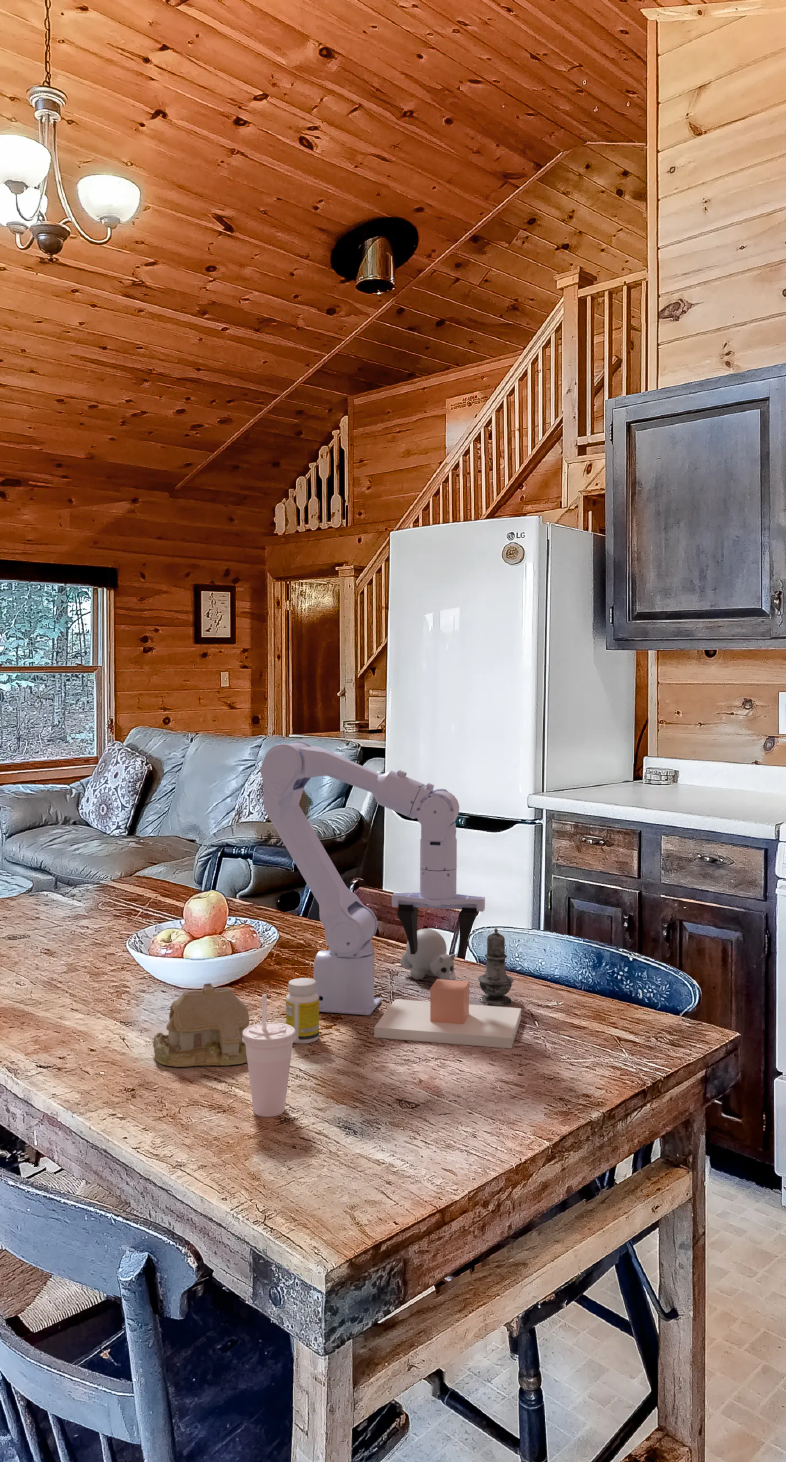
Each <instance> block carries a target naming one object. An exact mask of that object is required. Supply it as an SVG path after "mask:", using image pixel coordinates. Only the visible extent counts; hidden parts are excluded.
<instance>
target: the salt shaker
mask: <svg viewBox="0 0 786 1462" xmlns="http://www.w3.org/2000/svg"><path fill="white" fill-rule="evenodd" d="M493 931H494V932H493V933H490V934H489V935H488V936H487V938H486V940H487V942H486V950H487V951H486V954H484V958H486V969H485V973H484V974H481V975H480V976H478V977H477V981H478V982H479V987H480V990H481V991H483V993H484V995H482V996H481V997H480V998H482V1000H483V1001H482V1002H484V1003H488V1004H494V1005H493V1006H504V1005H503V1004H507V1005H510V1004H512V1002H511V1001H512V998H511V997H509V996H508V995H507V994H508V993H509V992H510V990H511V989H512V986H513V985H512V984H513V982H514V981H515V980H514V978H513V977H512V976H509V975H508V974H507V972H506V958H507V957H508V955H506V954H505V951H506V950H505V949H506V946H505V945H506V941H505V940H506V939H505V937H504V935H503V934H501V933H499V932H498V931H499V930H498V928H497V927H495V928H494V930H493ZM480 998H479V999H480ZM480 1000H481V999H480ZM482 1002H481V1003H482ZM484 1003H483V1004H484ZM488 1004H487V1005H488Z"/></svg>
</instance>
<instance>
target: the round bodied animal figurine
mask: <svg viewBox="0 0 786 1462" xmlns="http://www.w3.org/2000/svg"><path fill="white" fill-rule="evenodd" d="M417 941H418V948H417V952H416V953H415V954H410V947H409V942H408V940H407V942H406V945H405V952H403V955H402V956H401V958H400V962H399V964H400V966H401V967H402V968H404V969H407V970H409V969H410V972H409V974H410V977H412V979H414V980H417V979H421V980H424V977H425V976H426V975H427V976H428V977H431V976H435V977H437V978H438V979H442V980H456V972H455V961H454V960H455V958H456V953H452V954H447V950H448V949H447V948H448V947H447V944H446V940H445V938H444V937H443V935H441V933H439V932H438V931H436V929H435V930H434V929H432V928H421V929H417Z"/></svg>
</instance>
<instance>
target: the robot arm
mask: <svg viewBox="0 0 786 1462" xmlns="http://www.w3.org/2000/svg"><path fill="white" fill-rule="evenodd" d="M259 773H260V775H261V778H262V788H263V789H262V790H263V809H264V811H265V814H266V815H267V816H268V819H269V821H270V822H271V824H272V825H273V827H274V828H275V830H276V833H277V834H278V836H279V838H280V839H281V841H282V843H283V845H284V846H285V848H286V850H287V851H288V854H289V855H290V857H291V858H292V860H293V862H294V864H295V865H296V867H297V869H298V870H299V872H300V874H301V876H302V877H303V879H304V881H305V883H306V884H307V886H308V888H309V890H310V891H311V894H312V895H313V898H315V900H316V903H318V907H319V908H318V909H319V912H318V913H319V920H320V922H321V924H322V926H323V928H324V935H325V937H324V938H325V942H326V944H327V946H328V947H329V949H328V950H323V949H322V950H319V951H317V953H316V955H315V958H314V964H313V978H312V979H314V980H315V981H316V992H315V993H317V994H318V996H319V1013H320V1012H322V1013H334V1014H348V1015H361V1016H370V1015H371V1014H372V1013H373V1011H374V1010H375V1009H376V1008H377V1007H378V1006H379V1004H380V1003H381V1002H382V998H381V997H375V948H374V946H373V944H372V939H373V938H374V936H375V935H376V933H377V930H378V921H377V920H378V919H377V916H376V914H375V913H374V911H373V910H372V909H370V907H367V906H366V905H364V904H363V902H362V901H361V900H360V898H359V897H358V895H357V894H356V893H354V892H353V891H352V890H351V889H349V888H348V887H347V885H346V884H345V882H344V881H343V879H342V877H341V876H340V873H339V872H338V870H337V868H336V866H335V864H334V863H333V861H332V859H331V857H330V856H329V854H328V853H327V851H326V849H325V847H324V845H323V843H322V842H321V840H320V838H319V837H318V835H317V833H316V832H315V830H314V829H313V827H312V824H311V823H310V822H309V820H308V818H307V817H306V815H305V813H304V811H303V809H302V808H301V806H300V802H301V799H302V796H303V793H304V790H305V786H306V785H307V784H308V782H309V781H310V780H311V778H315V777H316V778H317V777H324V776H325V777H330V778H332V779H335V780H337V781H340V782H343V783H344V784H348V785H350V786H354V787H356V788H359V789H361V790H364V791H365V792H369V793H371V794H372V795H373V797H374V799H375V802H376V804H378V805H379V806H382V807H384V808H387V809H389V810H391V811H393V812H395V813H399V814H401V815H403V816H405V817H407V818H410V819H413V820H414V819H415V820H416V819H417V821H418V823H419V824H420V839H419V844H420V845H419V852H420V853H419V855H420V856H419V862H420V863H419V892H394V893H393V894H392V895H391V907H392V908H398V910H397V911H396V914H397V917H398V920H399V921H400V923H401V925H402V927H403V930H404V932H405V936H406V938H407V941H408V942H409V947H410V954H415V953H416V952H417V948H418V941H417V931H418V915H419V908H423V909H424V908H425V909H442V910H443V909H444V910H445V909H447V910H461V911H460V912H459V913H458V926H459V927H458V928H459V931H458V932H459V942H458V958H465V955H466V951H467V944H468V941H469V936H470V933H471V930H472V927H473V925H474V923H475V920H476V919H477V916H478V914H479V912H482V913H483V912H485V909H486V897H485V896H476V895H466V894H458V893H457V867H458V865H457V861H458V860H457V859H458V857H457V856H458V855H457V854H458V851H457V850H458V847H457V846H458V839H457V827H456V826H457V823H456V822H455V821H456V820H457V818H458V815H459V814H460V805H459V801H458V799H457V798H456V797H455V795H453V794H452V793H451V792H449V791H448V790H447V789H445V788H436V789H434V787H435V785H434V784H432V783H430V782H428V783H426V784H425V783H423V782H420V781H417V780H415V779H413V778H410V777H408V776H407V771H404V770H401V769H399V770H397V771H394V770H388V771H387V772H384V773H381V774H380V773H378V772H376V771H374V770H371V769H369V768H367V767H365V766H363V765H361V764H359V763H356V762H354V761H352V760H350V759H348V758H346V757H344V756H342V755H339V754H337V753H335V752H333V751H330V750H329V749H326V748H323V747H320V746H317V745H311V744H309V743H307V742H304V741H295V742H292V743H280V744H275V745H273V746H272V747H271V748H269V750H267V752H266V754H265V756H264V758H263V761H262V764H261V767H260V769H259Z"/></svg>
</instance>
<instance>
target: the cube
mask: <svg viewBox="0 0 786 1462" xmlns="http://www.w3.org/2000/svg"><path fill="white" fill-rule="evenodd" d="M429 990H430V991H429V992H430V994H429V995H430V999H429V1000H430V1001H429V1002H430V1022H441V1023H454V1024H464V1023H465V1021H466V1019H467V1017H468V1015H469V1005H470V981H468V980H456V979H455V980H442V979H439V978H437V979H435V981H434V983H433V984H432V985H431V987H430V989H429Z"/></svg>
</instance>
